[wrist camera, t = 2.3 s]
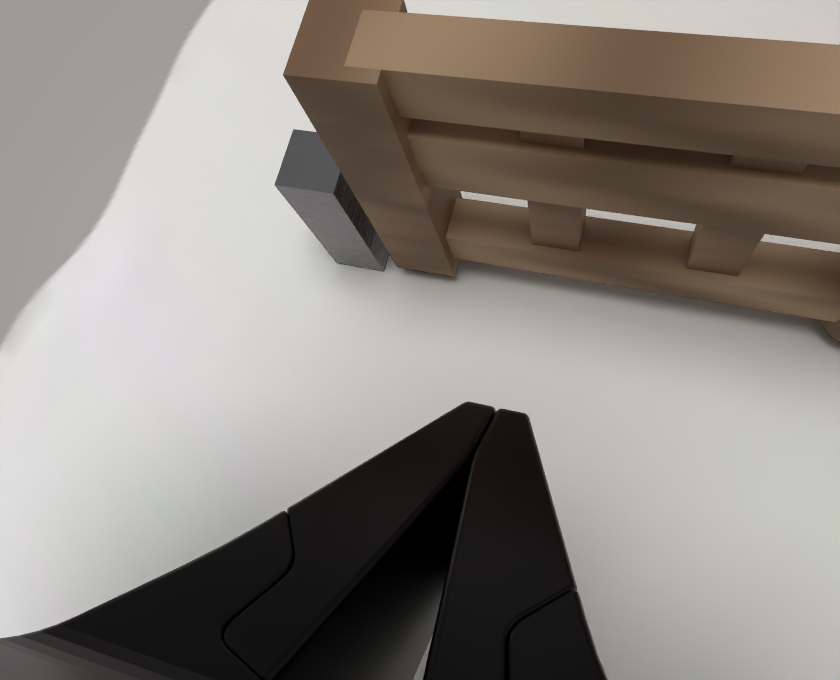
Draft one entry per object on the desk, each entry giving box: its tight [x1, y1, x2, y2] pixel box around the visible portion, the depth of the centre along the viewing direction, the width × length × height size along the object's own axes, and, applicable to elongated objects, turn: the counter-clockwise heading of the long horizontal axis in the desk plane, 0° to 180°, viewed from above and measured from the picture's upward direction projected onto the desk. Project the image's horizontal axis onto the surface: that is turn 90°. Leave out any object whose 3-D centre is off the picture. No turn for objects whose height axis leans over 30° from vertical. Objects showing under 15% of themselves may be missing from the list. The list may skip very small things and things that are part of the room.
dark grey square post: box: [275, 129, 389, 271], centre depth 16 cm, size 2×18×9 cm, turn 75°
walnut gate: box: [283, 0, 840, 342], centre depth 15 cm, size 13×2×9 cm, turn 75°
